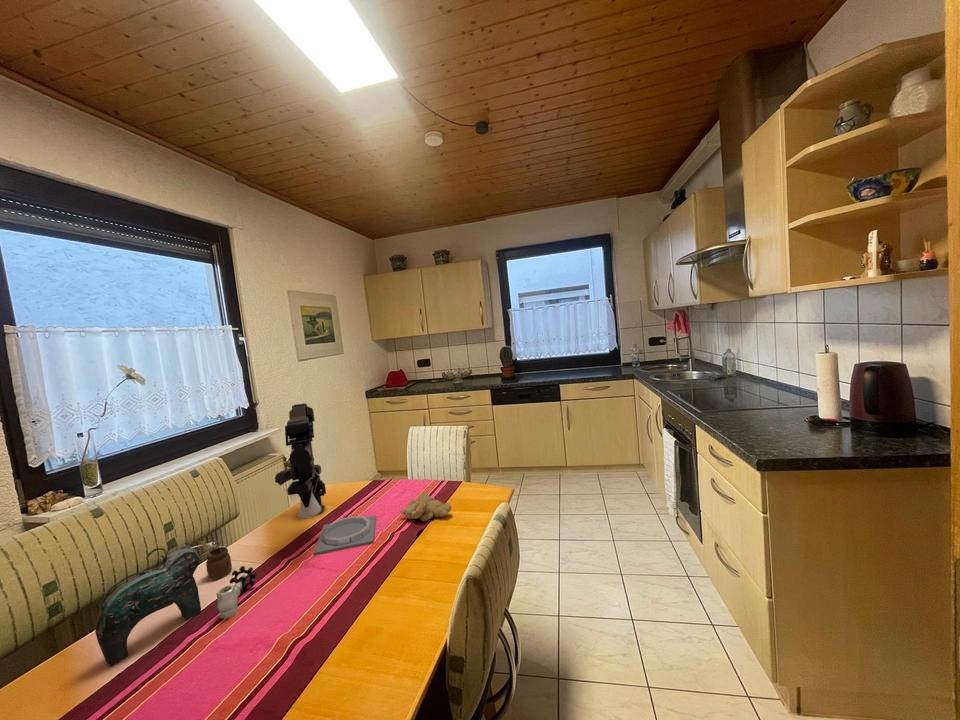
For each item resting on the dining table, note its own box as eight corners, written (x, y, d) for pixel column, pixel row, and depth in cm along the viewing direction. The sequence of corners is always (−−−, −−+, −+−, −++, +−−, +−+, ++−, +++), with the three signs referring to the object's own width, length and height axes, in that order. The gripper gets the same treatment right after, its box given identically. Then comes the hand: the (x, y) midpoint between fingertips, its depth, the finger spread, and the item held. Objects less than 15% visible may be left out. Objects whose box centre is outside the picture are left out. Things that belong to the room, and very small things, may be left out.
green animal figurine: (200, 602, 101) (188, 530, 100) (212, 609, 98) (200, 534, 96) (98, 662, 84) (82, 576, 83) (109, 673, 81) (92, 584, 79)
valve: (240, 617, 94) (258, 586, 106) (236, 592, 94) (255, 563, 106) (210, 623, 93) (232, 591, 105) (206, 598, 93) (229, 568, 104)
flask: (325, 508, 130) (322, 480, 130) (314, 519, 123) (310, 489, 122) (306, 509, 131) (302, 480, 131) (293, 519, 124) (289, 490, 123)
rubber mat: (324, 527, 136) (323, 525, 136) (376, 517, 140) (376, 515, 140) (313, 555, 119) (313, 552, 119) (373, 543, 122) (373, 540, 122)
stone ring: (327, 526, 135) (326, 521, 135) (371, 517, 138) (371, 512, 138) (318, 549, 120) (318, 543, 120) (369, 539, 123) (368, 534, 123)
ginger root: (395, 510, 141) (398, 488, 141) (436, 508, 148) (439, 488, 148) (406, 530, 127) (409, 506, 127) (451, 527, 134) (454, 504, 134)
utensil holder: (236, 569, 115) (230, 531, 114) (215, 583, 109) (208, 542, 108) (224, 566, 117) (218, 528, 116) (202, 579, 112) (196, 539, 111)
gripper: (285, 453, 133) (291, 496, 135) (265, 471, 115) (273, 521, 116) (318, 448, 136) (324, 491, 137) (305, 465, 117) (311, 515, 118)
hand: (308, 503), depth 127 cm, fingers closed on flask, 5 cm apart
